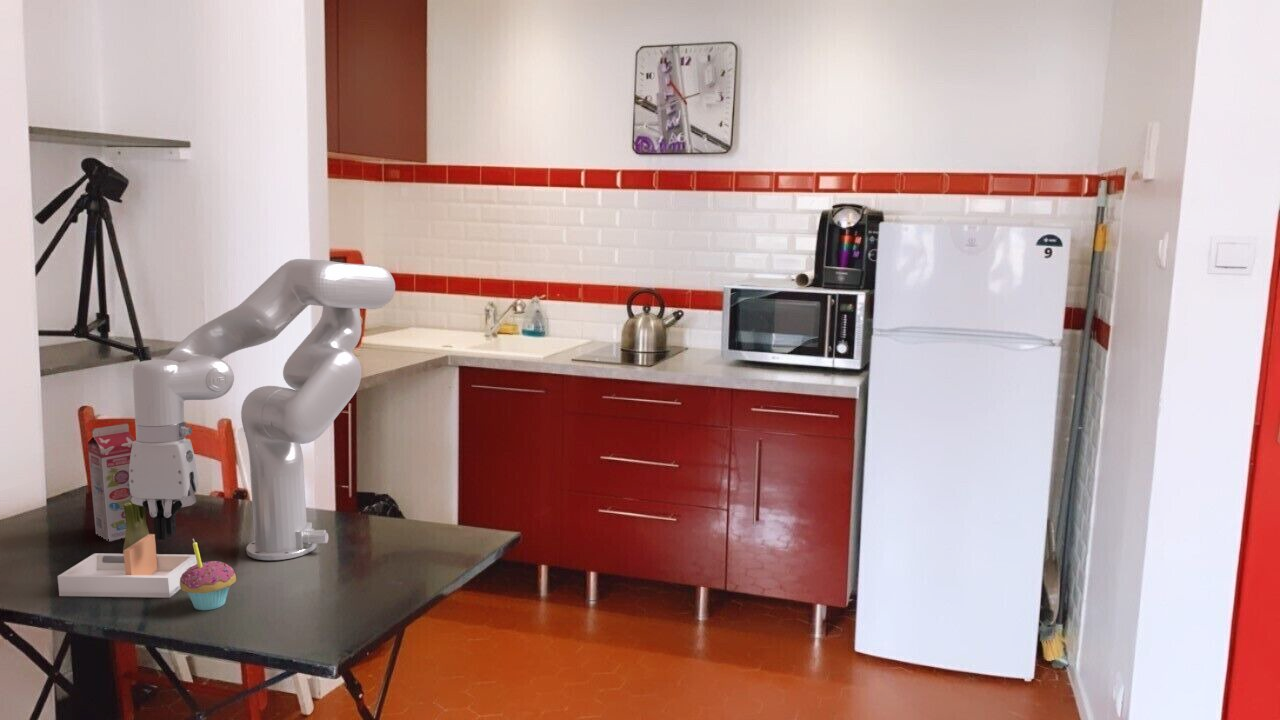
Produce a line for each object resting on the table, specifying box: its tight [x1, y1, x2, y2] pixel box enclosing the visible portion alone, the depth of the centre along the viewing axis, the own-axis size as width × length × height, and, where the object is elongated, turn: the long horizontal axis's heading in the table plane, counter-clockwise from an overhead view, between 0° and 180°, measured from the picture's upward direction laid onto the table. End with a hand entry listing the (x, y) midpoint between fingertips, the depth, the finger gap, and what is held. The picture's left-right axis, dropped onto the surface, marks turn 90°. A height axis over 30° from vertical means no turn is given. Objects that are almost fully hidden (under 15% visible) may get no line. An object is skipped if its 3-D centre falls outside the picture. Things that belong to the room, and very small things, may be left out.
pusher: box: [102, 533, 158, 575], centre depth 176 cm, size 7×8×7 cm
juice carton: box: [87, 423, 136, 542], centre depth 202 cm, size 7×7×22 cm
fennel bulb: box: [122, 500, 150, 554], centre depth 187 cm, size 6×5×12 cm
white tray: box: [57, 553, 197, 599], centre depth 177 cm, size 19×11×4 cm, turn 88°
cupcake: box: [180, 538, 237, 611], centre depth 168 cm, size 9×8×12 cm
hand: (165, 537), depth 175 cm, fingers closed
